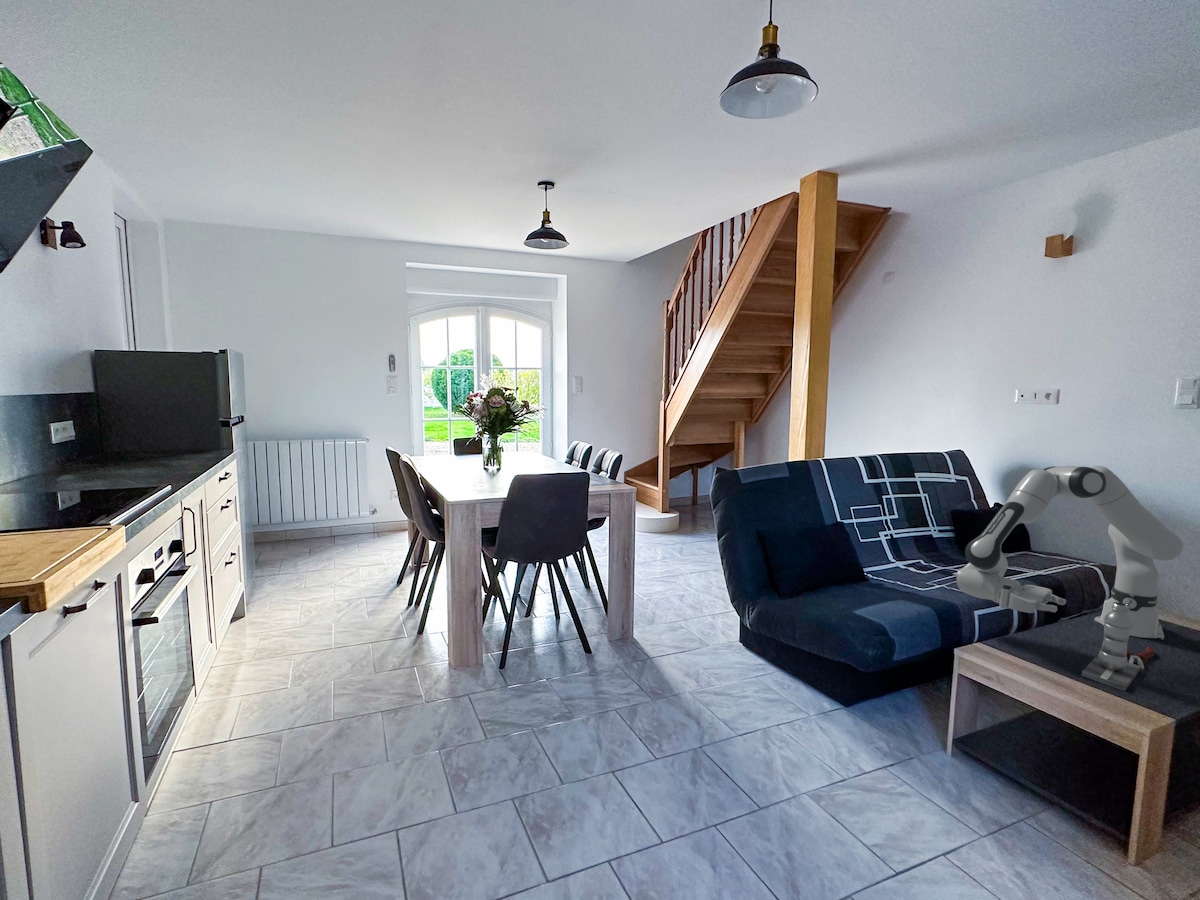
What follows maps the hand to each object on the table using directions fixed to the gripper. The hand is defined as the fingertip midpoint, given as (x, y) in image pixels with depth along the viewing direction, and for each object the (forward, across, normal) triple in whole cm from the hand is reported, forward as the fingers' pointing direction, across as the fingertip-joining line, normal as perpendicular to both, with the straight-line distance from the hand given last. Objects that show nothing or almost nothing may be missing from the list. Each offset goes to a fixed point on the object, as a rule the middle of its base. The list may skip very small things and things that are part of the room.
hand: (1060, 606), depth 189 cm
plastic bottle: (+14, +1, -15) cm, 20 cm away
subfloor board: (+14, +1, -16) cm, 22 cm away
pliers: (+14, -20, -17) cm, 30 cm away
